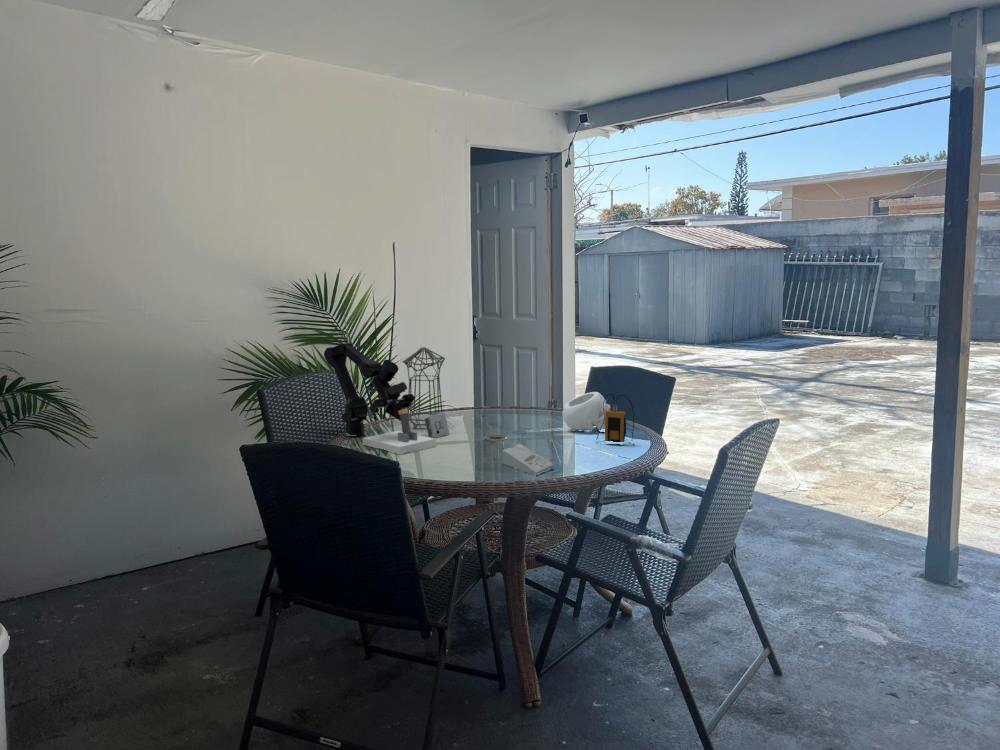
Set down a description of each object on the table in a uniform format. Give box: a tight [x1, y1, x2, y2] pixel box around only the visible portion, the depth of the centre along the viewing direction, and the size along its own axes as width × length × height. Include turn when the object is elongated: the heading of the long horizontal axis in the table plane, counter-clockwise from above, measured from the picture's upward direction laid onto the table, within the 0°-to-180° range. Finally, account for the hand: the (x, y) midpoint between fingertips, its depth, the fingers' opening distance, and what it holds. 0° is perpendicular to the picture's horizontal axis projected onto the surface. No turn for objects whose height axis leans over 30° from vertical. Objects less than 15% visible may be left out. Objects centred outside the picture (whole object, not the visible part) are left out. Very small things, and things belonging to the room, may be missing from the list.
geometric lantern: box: [402, 346, 446, 430], centre depth 323 cm, size 16×16×35 cm
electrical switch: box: [424, 412, 450, 439], centre depth 309 cm, size 9×5×9 cm, turn 141°
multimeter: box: [595, 393, 635, 442], centre depth 295 cm, size 15×10×20 cm
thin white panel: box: [362, 430, 437, 455], centre depth 291 cm, size 22×18×6 cm
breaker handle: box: [398, 408, 411, 438], centre depth 288 cm, size 2×3×11 cm, turn 137°
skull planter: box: [562, 391, 612, 432], centre depth 317 cm, size 14×20×19 cm
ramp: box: [501, 443, 554, 474], centre depth 262 cm, size 28×16×5 cm, turn 13°
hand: (402, 420), depth 288 cm, fingers closed, pressing on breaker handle
